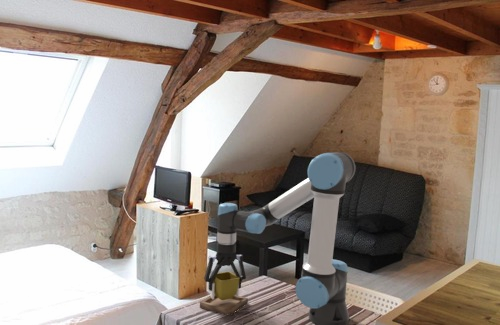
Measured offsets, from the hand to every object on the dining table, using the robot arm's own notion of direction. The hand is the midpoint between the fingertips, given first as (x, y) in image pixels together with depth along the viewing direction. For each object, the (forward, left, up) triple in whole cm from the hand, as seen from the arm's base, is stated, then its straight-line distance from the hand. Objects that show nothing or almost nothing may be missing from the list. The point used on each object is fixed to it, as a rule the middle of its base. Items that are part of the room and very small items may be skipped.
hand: (224, 297), depth 187 cm
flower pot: (0, 0, 0) cm, 0 cm away
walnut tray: (0, 0, -4) cm, 4 cm away
